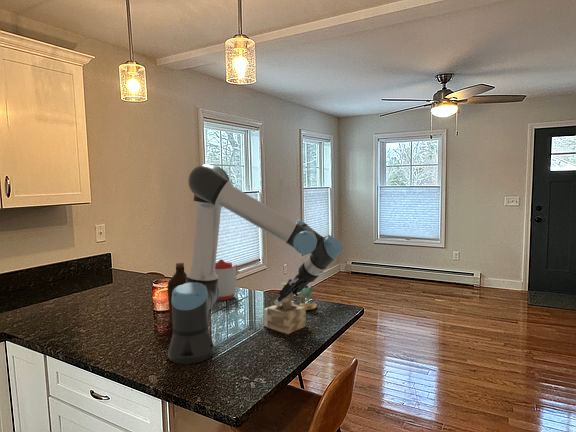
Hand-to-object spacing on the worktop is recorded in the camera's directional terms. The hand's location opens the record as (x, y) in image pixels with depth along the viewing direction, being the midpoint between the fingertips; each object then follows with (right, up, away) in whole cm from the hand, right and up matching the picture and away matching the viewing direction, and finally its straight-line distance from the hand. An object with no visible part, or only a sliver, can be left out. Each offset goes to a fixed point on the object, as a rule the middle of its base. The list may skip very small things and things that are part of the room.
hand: (279, 302), depth 158 cm
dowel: (+3, -6, -2) cm, 7 cm away
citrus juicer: (-30, -6, +40) cm, 50 cm away
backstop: (0, -9, +5) cm, 10 cm away
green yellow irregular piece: (+11, -8, +21) cm, 25 cm away
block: (+3, -9, -2) cm, 10 cm away
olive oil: (-42, -9, +5) cm, 43 cm away
